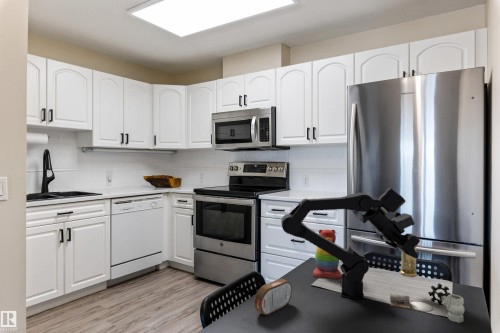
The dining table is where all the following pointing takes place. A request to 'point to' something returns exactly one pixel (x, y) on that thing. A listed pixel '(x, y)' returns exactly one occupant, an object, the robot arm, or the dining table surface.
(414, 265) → the gold tall rounded piece
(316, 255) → the stacking bear
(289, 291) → the tin
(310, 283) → the dining table surface
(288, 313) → the dining table surface
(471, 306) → the dining table surface
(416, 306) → the gap pad
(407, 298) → the small brown box
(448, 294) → the valve
